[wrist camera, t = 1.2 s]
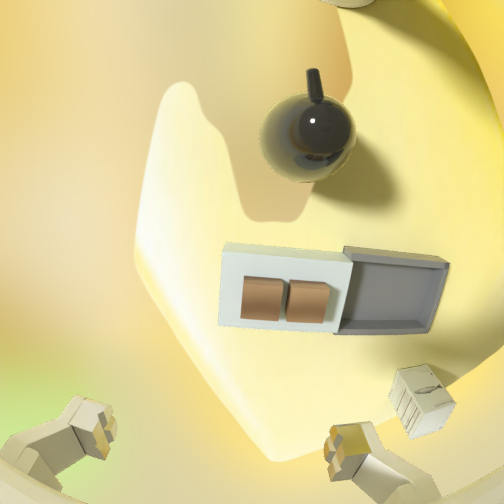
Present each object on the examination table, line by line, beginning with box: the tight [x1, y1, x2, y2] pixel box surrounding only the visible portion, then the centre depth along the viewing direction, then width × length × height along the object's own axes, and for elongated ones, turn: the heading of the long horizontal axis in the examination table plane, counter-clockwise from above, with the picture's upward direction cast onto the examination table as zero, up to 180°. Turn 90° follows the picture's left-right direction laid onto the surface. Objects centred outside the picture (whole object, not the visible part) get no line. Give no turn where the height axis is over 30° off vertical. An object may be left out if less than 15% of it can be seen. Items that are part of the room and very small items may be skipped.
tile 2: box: [284, 279, 330, 324], centre depth 34 cm, size 4×4×2 cm
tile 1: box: [240, 276, 283, 321], centre depth 34 cm, size 4×4×2 cm
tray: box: [333, 246, 450, 335], centre depth 38 cm, size 12×17×4 cm
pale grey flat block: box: [218, 242, 353, 333], centre depth 37 cm, size 10×16×4 cm, turn 85°
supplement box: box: [388, 364, 456, 440], centre depth 40 cm, size 7×7×13 cm
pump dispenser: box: [259, 68, 356, 183], centre depth 27 cm, size 10×10×15 cm
